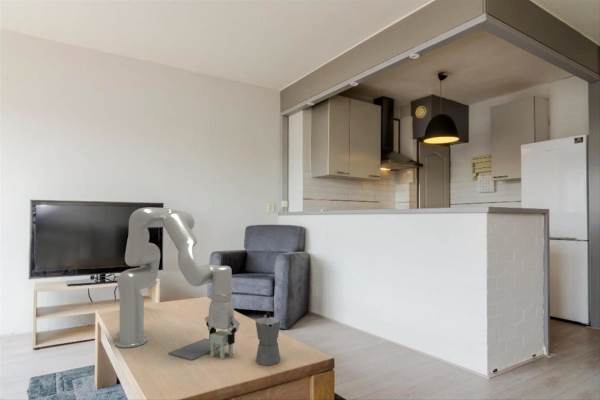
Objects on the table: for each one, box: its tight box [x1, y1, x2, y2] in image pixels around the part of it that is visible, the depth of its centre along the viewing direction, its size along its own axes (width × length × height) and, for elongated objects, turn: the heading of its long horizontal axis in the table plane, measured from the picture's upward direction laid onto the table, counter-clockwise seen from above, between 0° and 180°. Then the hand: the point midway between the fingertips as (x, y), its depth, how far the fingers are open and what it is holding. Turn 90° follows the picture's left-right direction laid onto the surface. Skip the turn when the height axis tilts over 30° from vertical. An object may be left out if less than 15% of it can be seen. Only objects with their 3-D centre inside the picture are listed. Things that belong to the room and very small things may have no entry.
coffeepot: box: [255, 312, 281, 367], centre depth 142 cm, size 15×9×18 cm, turn 13°
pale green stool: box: [210, 329, 234, 360], centre depth 147 cm, size 6×6×8 cm
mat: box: [167, 337, 228, 362], centre depth 153 cm, size 13×20×1 cm, turn 149°
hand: (221, 341), depth 147 cm, fingers open, 9 cm apart
